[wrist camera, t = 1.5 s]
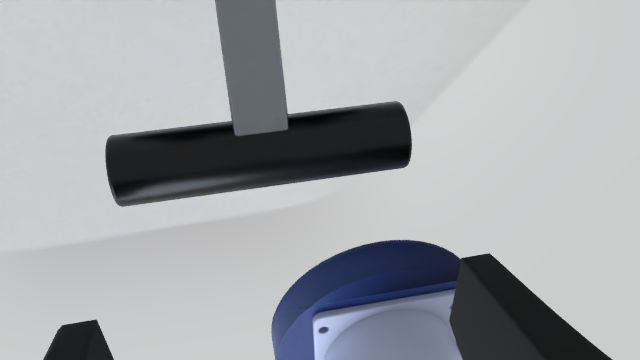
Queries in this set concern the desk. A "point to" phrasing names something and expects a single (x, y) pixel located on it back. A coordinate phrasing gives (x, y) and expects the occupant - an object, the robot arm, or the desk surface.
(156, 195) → the tap lever
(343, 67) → the desk surface
